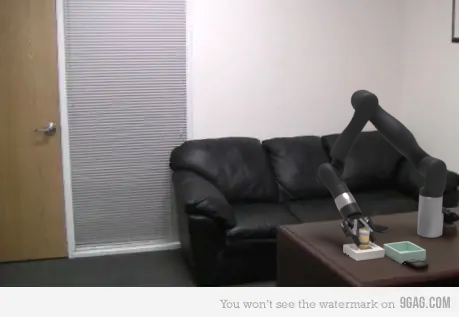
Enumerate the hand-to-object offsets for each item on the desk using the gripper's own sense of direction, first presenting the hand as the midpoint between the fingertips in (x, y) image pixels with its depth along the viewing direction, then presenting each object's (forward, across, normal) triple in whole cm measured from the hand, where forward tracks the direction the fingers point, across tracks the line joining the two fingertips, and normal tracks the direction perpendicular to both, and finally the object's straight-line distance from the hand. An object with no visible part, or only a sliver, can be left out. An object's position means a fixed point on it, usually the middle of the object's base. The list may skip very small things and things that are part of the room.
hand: (366, 243), depth 216 cm
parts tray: (+9, +12, -2) cm, 15 cm away
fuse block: (+2, 0, +5) cm, 5 cm away
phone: (-14, +26, +22) cm, 36 cm away
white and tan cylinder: (+2, 0, +5) cm, 5 cm away
